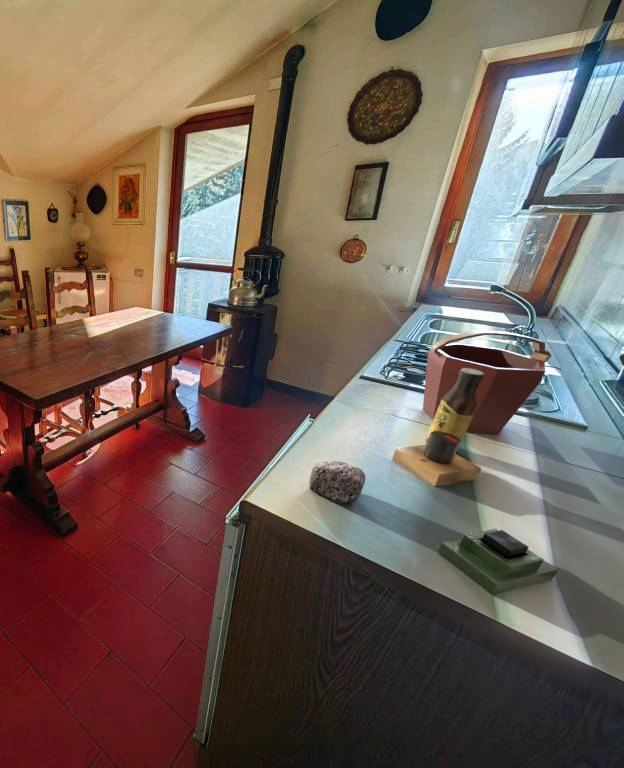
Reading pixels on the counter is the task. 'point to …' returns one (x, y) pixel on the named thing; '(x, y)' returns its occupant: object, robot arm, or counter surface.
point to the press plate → (504, 544)
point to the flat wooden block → (435, 467)
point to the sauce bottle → (458, 405)
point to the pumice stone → (337, 481)
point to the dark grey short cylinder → (441, 447)
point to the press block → (495, 564)
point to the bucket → (500, 382)
